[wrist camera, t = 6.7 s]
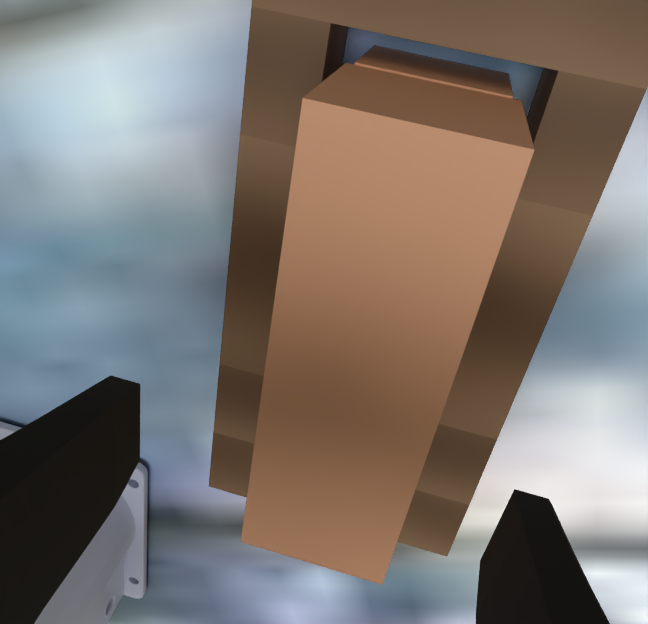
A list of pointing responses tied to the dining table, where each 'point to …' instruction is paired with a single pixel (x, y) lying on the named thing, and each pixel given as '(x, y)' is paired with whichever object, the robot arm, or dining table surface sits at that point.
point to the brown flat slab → (521, 235)
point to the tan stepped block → (377, 296)
